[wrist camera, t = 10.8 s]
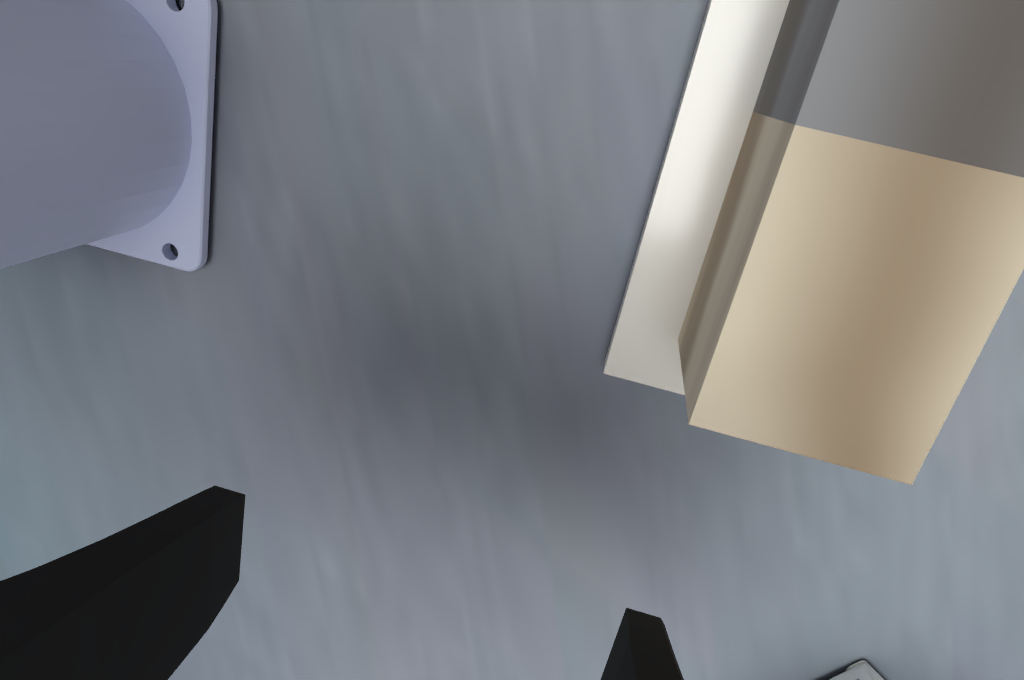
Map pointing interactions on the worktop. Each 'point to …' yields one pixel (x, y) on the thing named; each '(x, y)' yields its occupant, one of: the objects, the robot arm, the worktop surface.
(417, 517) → the worktop surface
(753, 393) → the capped bar
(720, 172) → the tile
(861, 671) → the syrup box
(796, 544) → the worktop surface
